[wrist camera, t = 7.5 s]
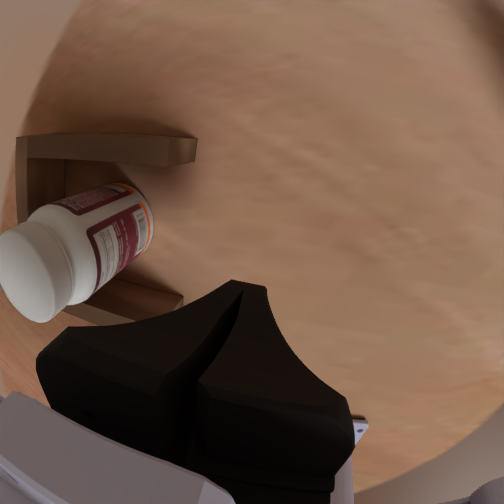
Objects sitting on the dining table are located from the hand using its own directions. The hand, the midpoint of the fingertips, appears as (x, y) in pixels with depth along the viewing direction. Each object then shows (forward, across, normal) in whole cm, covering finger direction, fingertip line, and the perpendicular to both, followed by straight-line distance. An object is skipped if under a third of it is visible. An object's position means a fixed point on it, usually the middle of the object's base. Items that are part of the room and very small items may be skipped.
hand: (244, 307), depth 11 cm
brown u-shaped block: (+6, +10, 0) cm, 11 cm away
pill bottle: (+6, +9, 0) cm, 10 cm away
